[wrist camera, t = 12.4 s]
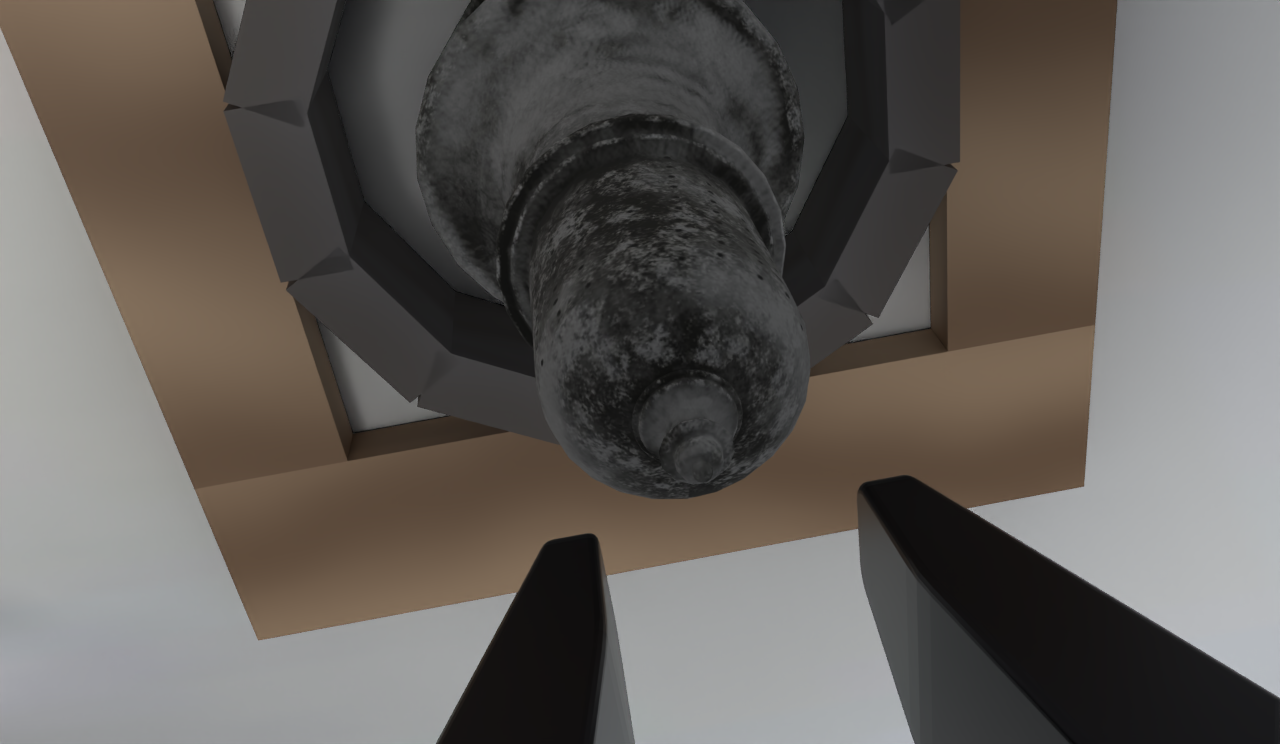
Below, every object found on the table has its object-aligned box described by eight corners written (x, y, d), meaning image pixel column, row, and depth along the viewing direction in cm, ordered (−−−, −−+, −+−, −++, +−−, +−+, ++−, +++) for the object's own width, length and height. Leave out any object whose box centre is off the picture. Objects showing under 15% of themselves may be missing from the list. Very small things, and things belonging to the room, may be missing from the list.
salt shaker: (754, -100, 19) (1071, 111, 9) (760, 228, 22) (1003, 679, 12) (398, -67, 19) (285, 194, 8) (453, 261, 22) (420, 761, 11)
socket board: (1063, 460, 26) (1117, 529, 23) (266, 608, 25) (244, 691, 23) (1131, -739, 15) (1236, -815, 13) (-199, -531, 15) (-316, -575, 13)
